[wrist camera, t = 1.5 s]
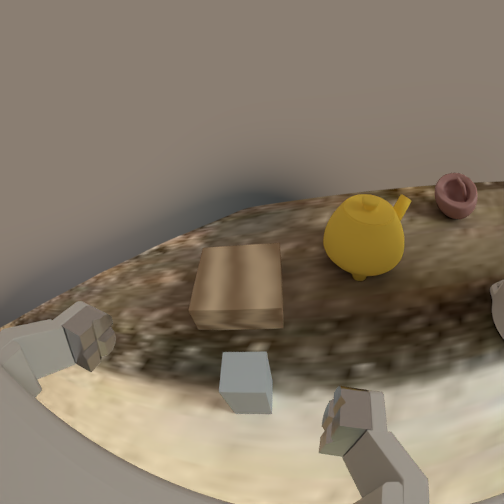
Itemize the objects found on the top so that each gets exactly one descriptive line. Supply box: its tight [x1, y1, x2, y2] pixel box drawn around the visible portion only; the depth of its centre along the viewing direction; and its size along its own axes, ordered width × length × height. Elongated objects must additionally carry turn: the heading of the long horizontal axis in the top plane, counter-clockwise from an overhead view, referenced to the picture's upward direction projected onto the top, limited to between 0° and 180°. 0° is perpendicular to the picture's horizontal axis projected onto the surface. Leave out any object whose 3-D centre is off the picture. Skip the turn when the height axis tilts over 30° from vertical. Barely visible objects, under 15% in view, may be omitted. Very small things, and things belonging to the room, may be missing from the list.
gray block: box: [219, 352, 272, 414], centre depth 32 cm, size 5×5×10 cm
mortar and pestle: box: [435, 173, 477, 219], centre depth 54 cm, size 12×12×11 cm
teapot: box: [323, 194, 411, 281], centre depth 48 cm, size 20×16×14 cm
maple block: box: [188, 243, 283, 330], centre depth 48 cm, size 14×14×6 cm
